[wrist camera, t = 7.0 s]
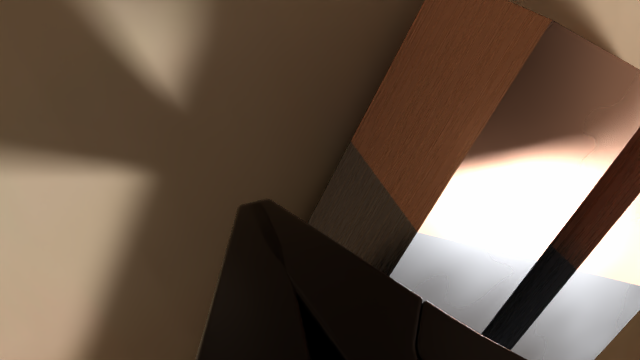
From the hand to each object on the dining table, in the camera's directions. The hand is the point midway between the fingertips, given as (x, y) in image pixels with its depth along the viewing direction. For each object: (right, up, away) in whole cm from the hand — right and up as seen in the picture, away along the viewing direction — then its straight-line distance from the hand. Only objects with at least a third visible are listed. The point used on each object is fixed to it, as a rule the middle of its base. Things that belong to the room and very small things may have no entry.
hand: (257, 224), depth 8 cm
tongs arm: (0, -3, +3) cm, 5 cm away
